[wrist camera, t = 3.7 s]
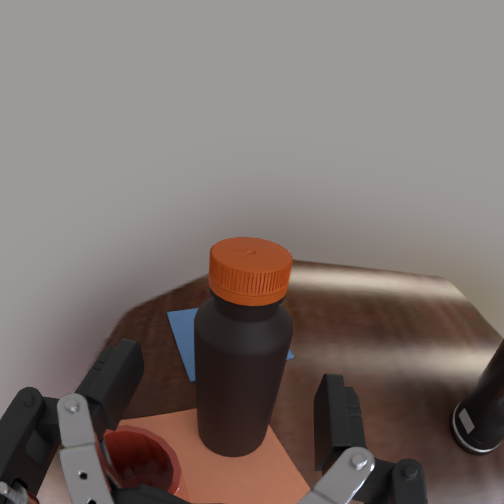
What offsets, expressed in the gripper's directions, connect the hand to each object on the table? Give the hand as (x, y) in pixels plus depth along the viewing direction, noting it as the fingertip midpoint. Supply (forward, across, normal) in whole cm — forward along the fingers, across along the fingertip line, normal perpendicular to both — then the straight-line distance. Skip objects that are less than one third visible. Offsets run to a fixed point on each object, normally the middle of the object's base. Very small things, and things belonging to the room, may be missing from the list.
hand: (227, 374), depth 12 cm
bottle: (+8, 0, +18) cm, 19 cm away
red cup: (-3, +6, +18) cm, 19 cm away
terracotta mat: (+2, +3, +18) cm, 18 cm away
